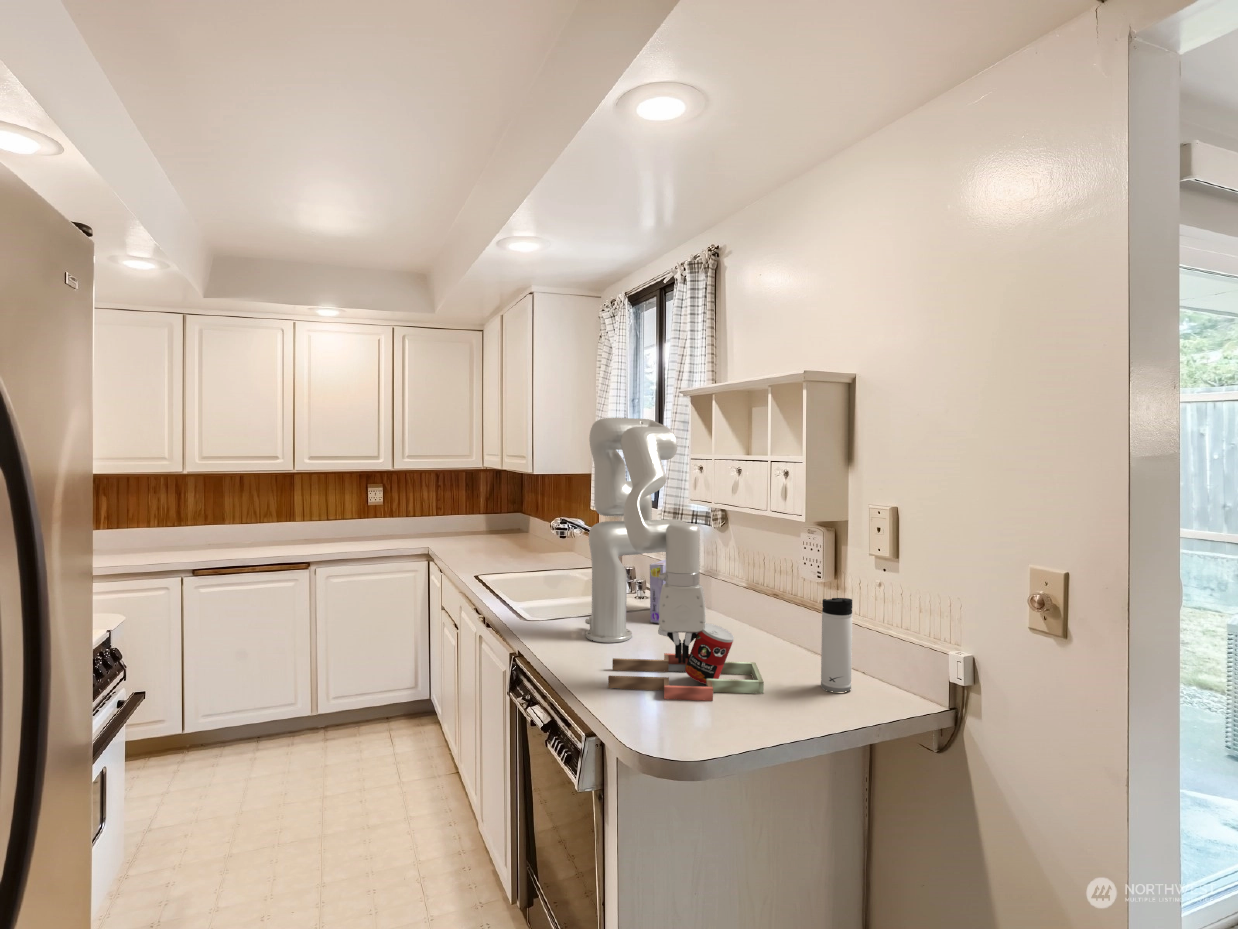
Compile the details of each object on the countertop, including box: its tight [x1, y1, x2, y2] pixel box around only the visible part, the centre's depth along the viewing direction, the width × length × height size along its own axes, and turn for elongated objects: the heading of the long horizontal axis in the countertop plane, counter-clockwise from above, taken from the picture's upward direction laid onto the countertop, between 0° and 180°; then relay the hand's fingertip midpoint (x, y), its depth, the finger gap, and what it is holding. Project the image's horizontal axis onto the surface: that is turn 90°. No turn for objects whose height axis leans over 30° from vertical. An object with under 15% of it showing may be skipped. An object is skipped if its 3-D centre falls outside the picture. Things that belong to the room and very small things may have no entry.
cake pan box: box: [649, 558, 666, 624], centre depth 207 cm, size 19×5×18 cm, turn 155°
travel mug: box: [820, 597, 853, 692], centre depth 146 cm, size 6×7×20 cm
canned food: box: [685, 622, 735, 685], centre depth 150 cm, size 8×8×11 cm
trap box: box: [607, 652, 765, 702], centre depth 151 cm, size 33×23×2 cm
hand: (681, 661), depth 151 cm, fingers closed
